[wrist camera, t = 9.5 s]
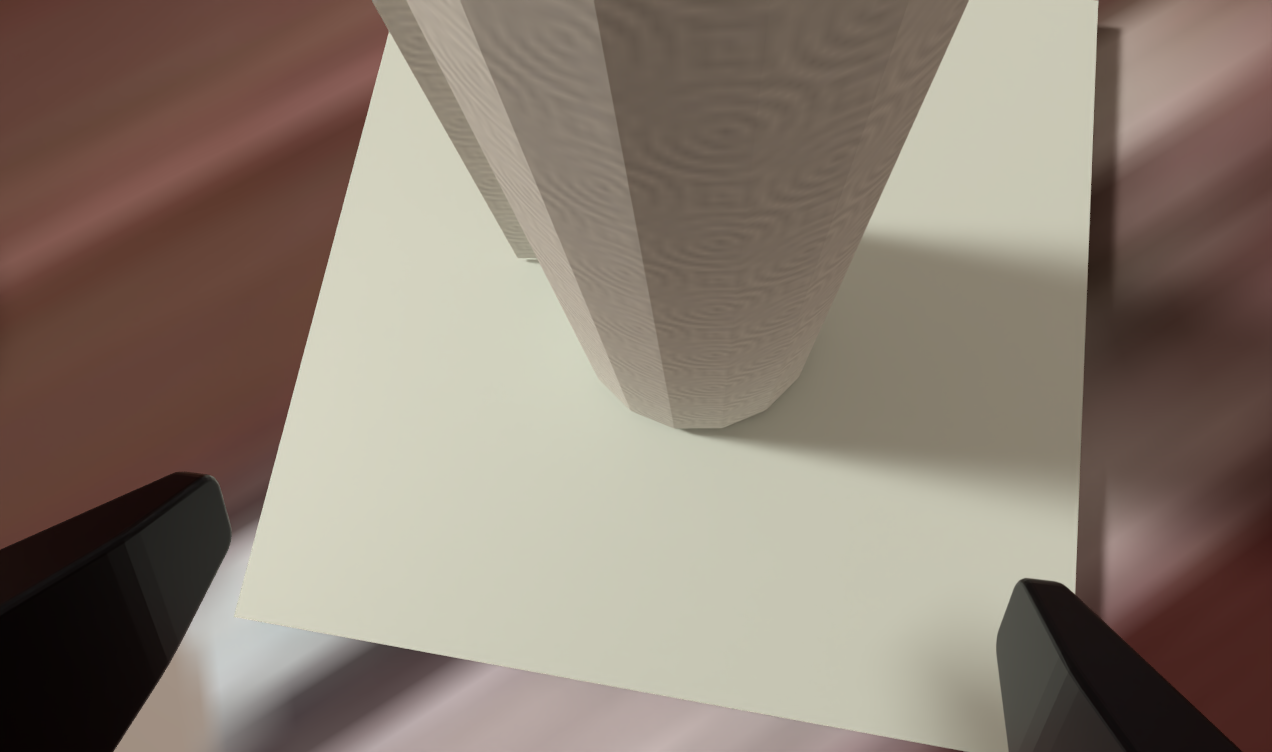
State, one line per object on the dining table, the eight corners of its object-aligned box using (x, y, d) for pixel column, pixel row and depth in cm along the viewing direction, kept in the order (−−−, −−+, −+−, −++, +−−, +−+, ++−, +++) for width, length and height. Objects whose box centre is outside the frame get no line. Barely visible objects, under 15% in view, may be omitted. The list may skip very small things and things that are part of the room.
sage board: (1050, 761, 20) (1068, 769, 19) (255, 615, 22) (233, 616, 21) (1082, 24, 24) (1098, 0, 23) (423, -32, 26) (412, -56, 25)
